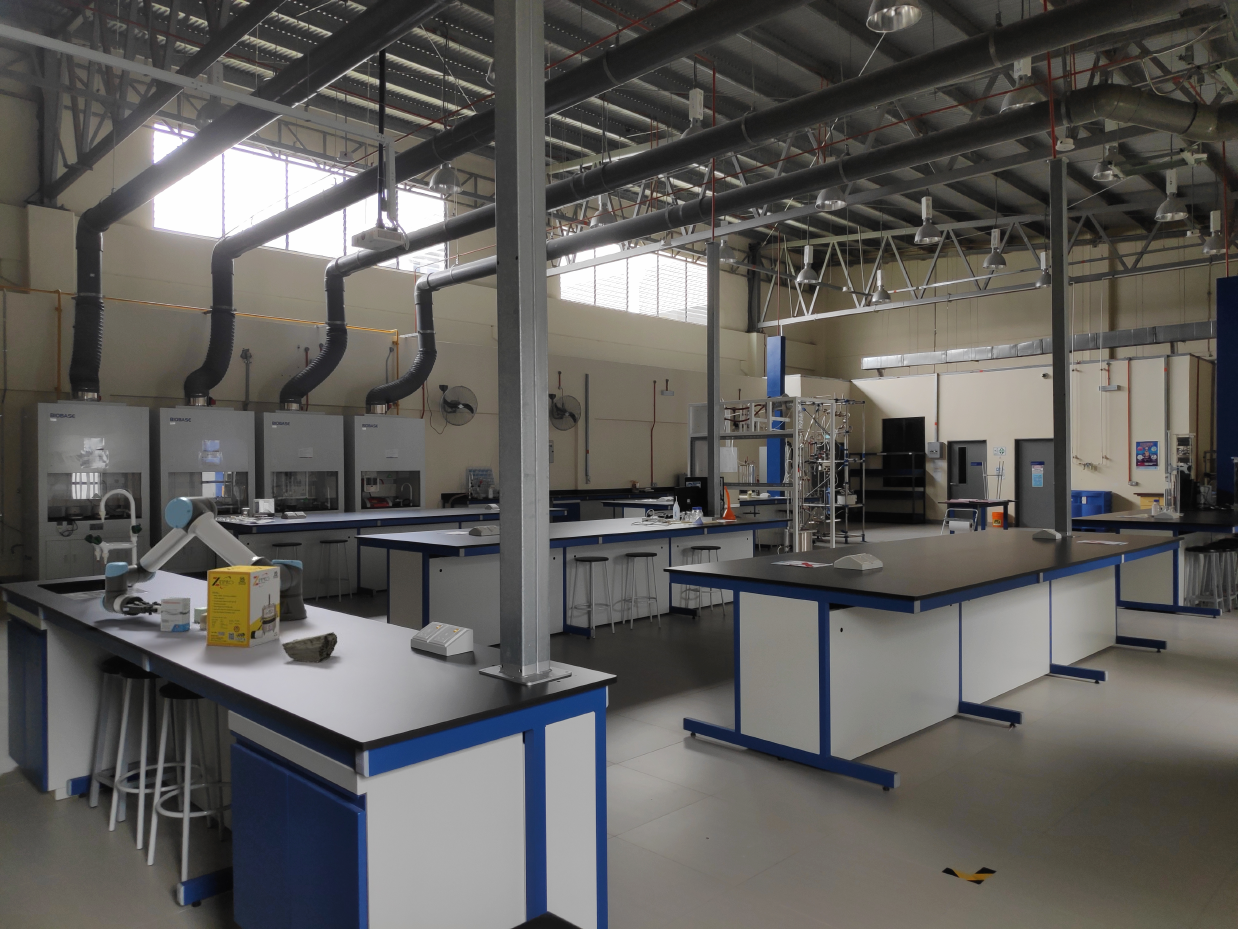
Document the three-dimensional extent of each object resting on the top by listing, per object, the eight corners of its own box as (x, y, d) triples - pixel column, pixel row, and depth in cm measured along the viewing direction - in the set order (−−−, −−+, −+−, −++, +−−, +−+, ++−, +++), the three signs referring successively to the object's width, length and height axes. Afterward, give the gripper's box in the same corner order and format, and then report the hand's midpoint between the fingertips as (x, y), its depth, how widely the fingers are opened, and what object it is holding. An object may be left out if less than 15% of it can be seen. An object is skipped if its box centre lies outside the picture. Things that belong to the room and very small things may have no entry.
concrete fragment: (275, 654, 247) (295, 619, 260) (293, 677, 253) (312, 642, 265) (315, 646, 244) (334, 611, 256) (332, 669, 249) (350, 634, 261)
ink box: (190, 629, 298) (191, 597, 298) (182, 632, 293) (182, 599, 293) (168, 628, 299) (169, 596, 299) (160, 631, 294) (160, 598, 294)
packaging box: (238, 635, 287) (239, 565, 288) (279, 638, 284) (280, 566, 284) (206, 645, 271) (207, 570, 272) (249, 647, 268) (250, 572, 268)
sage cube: (213, 620, 316) (213, 607, 316) (201, 622, 312) (201, 609, 312) (206, 619, 319) (206, 606, 319) (194, 621, 315) (194, 608, 315)
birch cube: (220, 626, 305) (220, 613, 305) (213, 628, 300) (213, 615, 300) (207, 626, 305) (207, 612, 305) (199, 628, 300) (200, 615, 300)
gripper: (146, 612, 317) (181, 618, 305) (111, 617, 306) (146, 623, 294) (147, 593, 317) (181, 598, 305) (112, 597, 306) (146, 603, 294)
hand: (164, 611), depth 299 cm, fingers closed
